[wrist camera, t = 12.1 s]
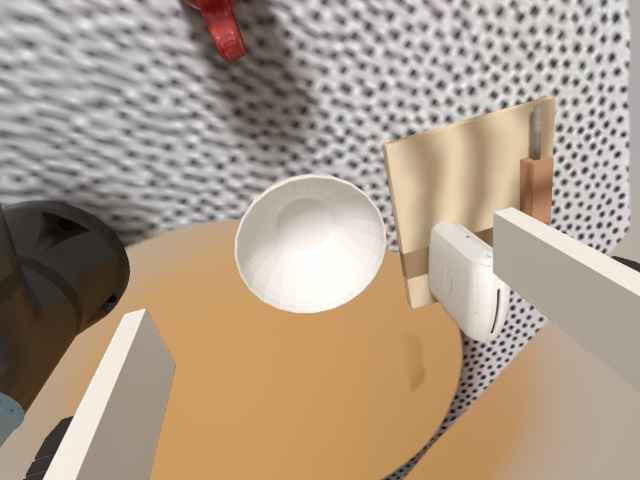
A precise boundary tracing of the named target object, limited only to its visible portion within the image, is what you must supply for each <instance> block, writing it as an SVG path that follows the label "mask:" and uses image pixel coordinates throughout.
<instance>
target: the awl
mask: <svg viewBox="0 0 640 480" xmlns="http://www.w3.org/2000/svg"><path fill="white" fill-rule="evenodd" d="M541 124H542V105H536V106H534V109H533V155H532V156H530V157H527V158H523V159H520V211H521V212H523V213H525V214H527V215H528V216H530V217H532V218H534V219H536V220H538V221H540V222H542V223H545V222H548V221H551V201H552V180H553V159H554V158H551V157H548V156H544V155H541Z"/></svg>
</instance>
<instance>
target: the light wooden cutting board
mask: <svg viewBox="0 0 640 480" xmlns="http://www.w3.org/2000/svg"><path fill="white" fill-rule="evenodd" d="M536 105H542V124H541V155H544V156H548V157H551V158H553V137H554V115H555V98H552V97H544V98H540V99H537V100H533V101H530V102H526V103H523V104H519V105H516V106H512V107H509V108H505V109H502V110H498V111H495V112H491V113H488V114H484V115H481V116H477V117H474V118H470V119H467V120H463V121H460V122H456V123H453V124H449V125H446V126H442V127H439V128H435V129H432V130H428V131H425V132H421V133H418V134H414V135H411V136H408V137H404V138H401V139H397V140H394V141H390V142H387V143H383V144H382V148H383V154H384V160H385V166H386V172H387V178H388V184H389V190H390V196H391V203H392V209H393V215H394V221H395V227H396V233H397V239H398V245H399V251H400V257H401V263H402V269H403V276H404V282H405V288H406V294H407V299H408V304H409V305H410V307H411V308H412V309H415V308H418V307H422V306H425V305H428V304H431V303H434V302H438V300H437V299H436V298H435V296H434V295H433V294H432V293H431V291H430V288H429V282H428V263H429V243H430V234H431V229H432V227H434V226H435V225H436V224H438V223H440V222H442V221H452V222H454V223H455V224H460V225H462V226H463V227H465V228H466V229H467V230H469V231H470V232H471V233H473V234H474V235H475V236H477V237H478V238H480V239H481V240H482V241H484V242H485V243H486V244H488V245H489V246H491V247H492V248H493V212H496V211H500V210H503V209H507V208H510V207H513V208H515V209H517V210H519V211H520V159H523V158H527V157H530V156H532V155H533V109H534V106H536ZM549 222H550V221H548V222H545V223H544V224H546V225H548V226H549Z"/></svg>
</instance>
